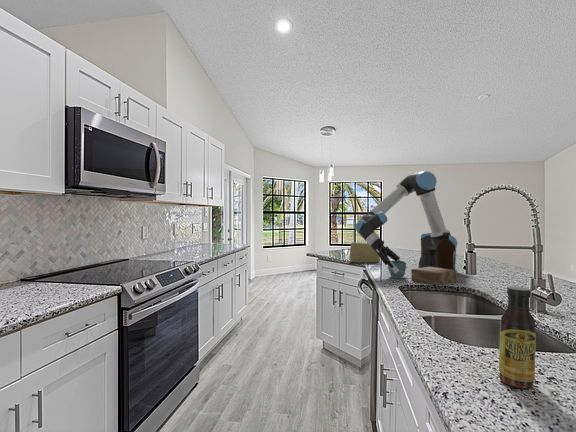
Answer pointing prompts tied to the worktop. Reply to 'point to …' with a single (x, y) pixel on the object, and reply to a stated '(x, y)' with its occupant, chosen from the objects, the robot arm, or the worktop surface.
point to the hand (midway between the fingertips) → (401, 270)
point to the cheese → (363, 253)
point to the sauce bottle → (517, 340)
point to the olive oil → (446, 253)
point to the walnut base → (434, 275)
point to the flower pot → (400, 265)
